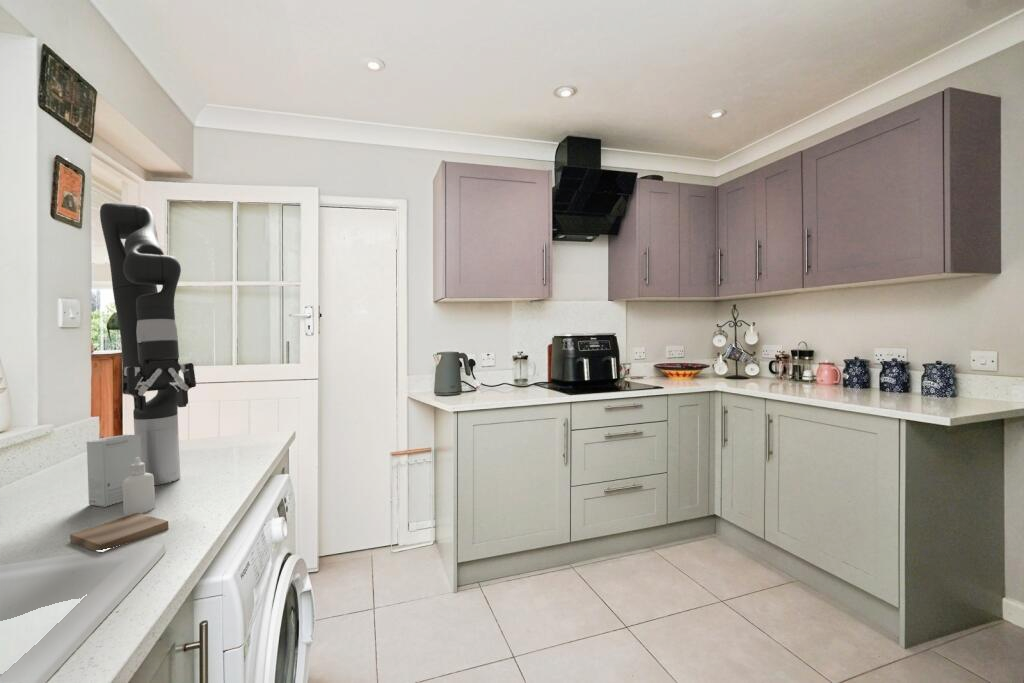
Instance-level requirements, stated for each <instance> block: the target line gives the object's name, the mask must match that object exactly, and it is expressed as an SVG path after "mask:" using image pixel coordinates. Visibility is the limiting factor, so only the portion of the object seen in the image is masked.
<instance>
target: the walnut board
mask: <svg viewBox="0 0 1024 683" xmlns="http://www.w3.org/2000/svg"><path fill="white" fill-rule="evenodd" d="M166 530H169V520H165V519H163V518H159V517H155V516H150V515H148V514H145V513H143V514H141V513H135V514H132V515H129V516H122V517H119V518H117V519H114V520H110V521H108V522H104V523H102V524H98V525H95V526H92V527H89V528H86V529H82V530H79V531H76V532H72V533H70V534H69V541H70V543H71V542H72V543H71V544H74V543H75V545H77V544H78V546H80V545H81V546H80V547H82V546H83V548H85V547H86V549H88V548H89V549H88V550H90V549H91V551H93V550H103V549H107V548H113V547H116V546H119V545H122V544H125V545H127V544H126V543H128V544H129V542H130V543H133V542H135V541H138V540H141V539H144V538H146V537H149V536H152V535H154V534H158V533H161V532H163V531H166ZM122 546H123V545H122ZM119 547H120V546H119Z"/></svg>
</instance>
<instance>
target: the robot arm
mask: <svg viewBox="0 0 1024 683" xmlns="http://www.w3.org/2000/svg"><path fill="white" fill-rule="evenodd" d="M99 219H100V225H101V229H102V233H103V237H104V239H103V240H104V242H105V246H106V251H107V254H108V255H107V256H108V260H109V266H110V274H111V275H110V276H111V283H112V284H111V285H112V293H113V299H114V306H115V311H116V316H117V322H118V326H119V334H120V342H121V343H120V346H121V362H122V364H121V365H122V371H121V375H122V376H121V380H122V381H121V384H122V385H121V387H122V388H121V390H122V391H121V393H122V394H123V395H128V396H131V397H133V406H134V407H133V408H134V409H133V412H132V413H133V414H132V415H133V430H134V431H133V432H134V434H133V435H140V440H141V462H143V463H145V473H151V474H153V476H154V485H155V486H161V485H164V484H169V483H172V481H173V482H175V481H177V480H179V479H180V478H181V462H180V461H181V460H180V455H181V454H180V436H179V417H178V411H179V410H178V408H185V407H187V405H188V404H189V393H188V391H189V390H191V389H193V388H195V387H196V386H197V381H196V373H195V368H194V367H195V366H194V363H192V362H188V363H187V362H186V363H183V364H180V362H179V358H180V353H179V352H180V351H179V339H178V337H179V336H178V328H177V323H176V315H175V314H176V312H175V298H176V297H175V295H176V292H177V291H176V290H177V287H178V283H179V279H180V276H181V273H182V272H181V271H182V268H181V264H180V262H179V261H178V259H177V258H176V257H175V256H172V255H166V254H164V251H163V249H162V247H161V245H160V243H159V239H158V232H157V228H156V222H155V218H154V216H153V212H152V211H151V209H149V208H148V207H146V206H142V205H138V204H127V203H113V202H112V203H111V202H105V203H103V204H101V206H100V209H99ZM122 240H125V241H124V244H123V241H122ZM158 286H162V287H161V290H159V291H158ZM180 372H181V373H182V376H183V378H182V377H181V376H180V374H179V373H180ZM155 391H157V392H156V394H155V395H154V397H152V398H151V399H150V400H148V401H146V400H147V399H146V395H145V393H147V392H155ZM160 484H161V485H160Z"/></svg>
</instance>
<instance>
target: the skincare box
mask: <svg viewBox="0 0 1024 683" xmlns="http://www.w3.org/2000/svg"><path fill="white" fill-rule="evenodd" d="M86 453H87V454H86V455H87V457H86V458H87V460H86V462H87V463H86V464H87V483H88V484H87V487H88V489H87V490H88V505H90V506H97V507H101V508H107V506H108V507H110V506H112V504H113V505H116V504H119V503H123V487H122V485H123V481H124V480H125V479H126V478H128V477H129V476H131V475H132V474H131V465H132V464H133V463H134V462H135V458H137V457H139V458H140V461H141V440H140V435H134V434H121V435H115V436H109V437H103V438H97V439H91V440H89V441H86ZM115 503H116V504H115ZM109 505H110V506H109Z"/></svg>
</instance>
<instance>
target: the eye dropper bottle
mask: <svg viewBox="0 0 1024 683" xmlns="http://www.w3.org/2000/svg"><path fill="white" fill-rule="evenodd" d="M131 474H132V475H131V476H129V477H128V478H126V479H125V480H124V481H123V485H122V487H123V501H122V504H123V505H122V509H123V511H122V512H123V517H126V516H129V515H132V514H135V513H141V514H145V513H147V512H148V513H149V512H151V510H153V509H155V507H156V494H155V493H156V492H155V486H154V476H153V474H151V473H145V463H143V462H141V461H140V458H139V457H137V458H135V462H134V463H133V464H132V465H131Z"/></svg>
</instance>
